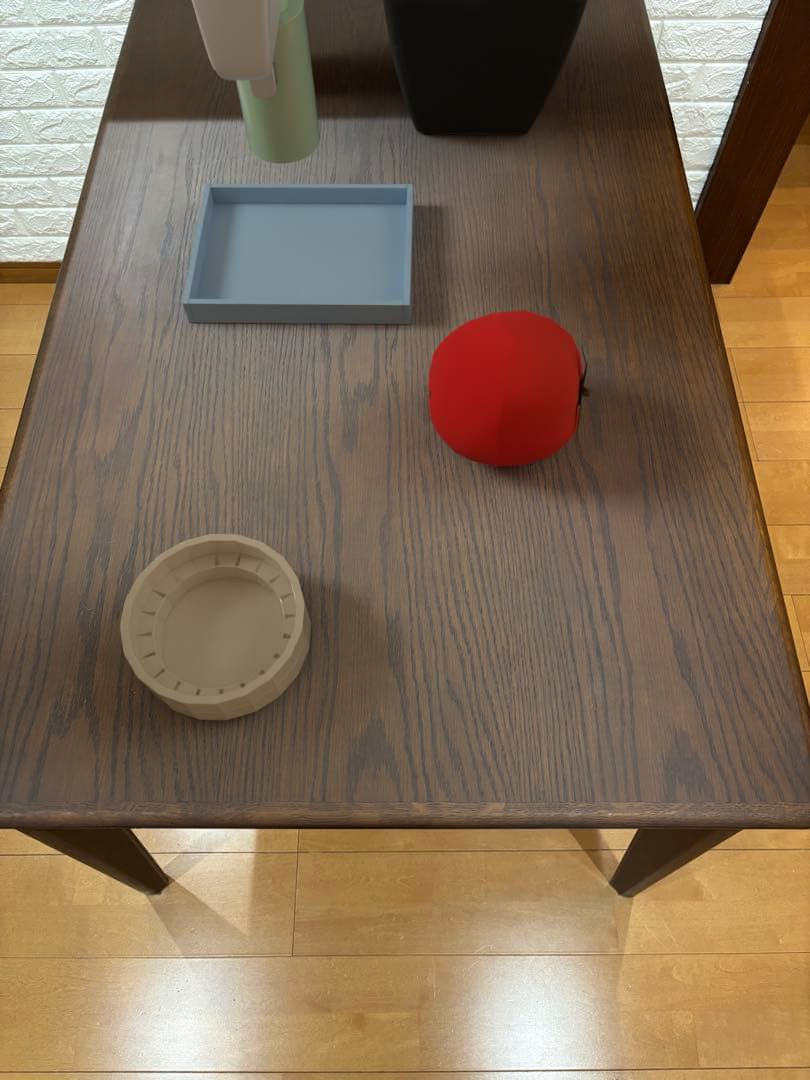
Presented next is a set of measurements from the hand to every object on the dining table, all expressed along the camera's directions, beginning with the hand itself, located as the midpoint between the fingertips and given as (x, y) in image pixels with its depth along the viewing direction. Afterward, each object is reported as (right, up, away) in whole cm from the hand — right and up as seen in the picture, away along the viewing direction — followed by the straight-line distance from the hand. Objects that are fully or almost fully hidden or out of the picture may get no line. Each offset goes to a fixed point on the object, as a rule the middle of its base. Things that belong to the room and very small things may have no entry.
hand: (270, 61), depth 63 cm
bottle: (0, -3, +6) cm, 7 cm away
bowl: (-4, -44, +1) cm, 44 cm away
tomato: (+19, -27, +10) cm, 34 cm away
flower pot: (+18, +13, +31) cm, 38 cm away
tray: (0, -9, +19) cm, 21 cm away
